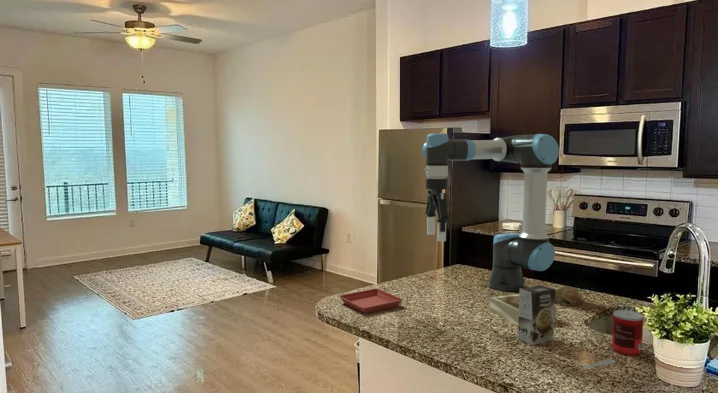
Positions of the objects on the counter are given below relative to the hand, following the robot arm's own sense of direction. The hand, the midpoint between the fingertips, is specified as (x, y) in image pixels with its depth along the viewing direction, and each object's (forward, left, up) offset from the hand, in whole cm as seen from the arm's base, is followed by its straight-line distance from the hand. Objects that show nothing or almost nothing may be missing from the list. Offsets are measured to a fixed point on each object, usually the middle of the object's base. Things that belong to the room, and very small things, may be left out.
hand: (436, 237), depth 174 cm
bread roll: (-55, +4, -28) cm, 62 cm away
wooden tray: (-28, +12, -28) cm, 41 cm away
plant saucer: (+18, -18, -28) cm, 38 cm away
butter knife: (-16, +53, -28) cm, 62 cm away
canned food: (-37, +48, -28) cm, 67 cm away
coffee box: (-18, +32, -28) cm, 46 cm away
